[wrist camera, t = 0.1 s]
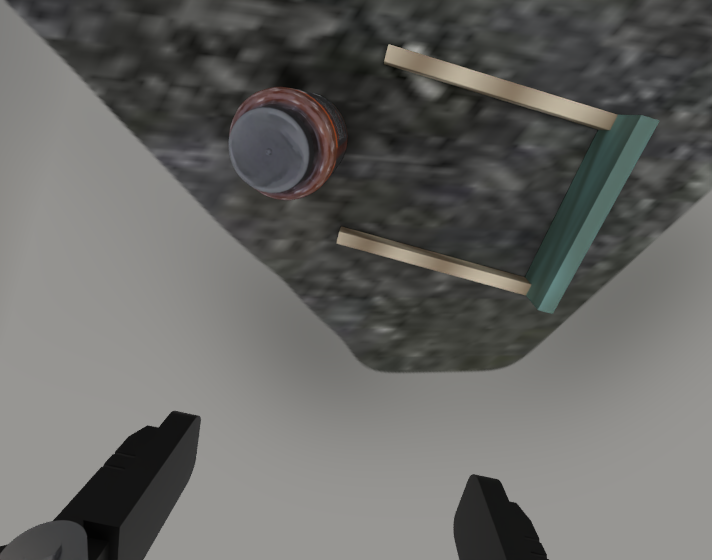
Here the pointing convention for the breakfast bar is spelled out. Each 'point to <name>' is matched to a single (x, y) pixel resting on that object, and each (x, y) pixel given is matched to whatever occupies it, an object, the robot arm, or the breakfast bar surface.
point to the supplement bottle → (286, 142)
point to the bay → (579, 208)
